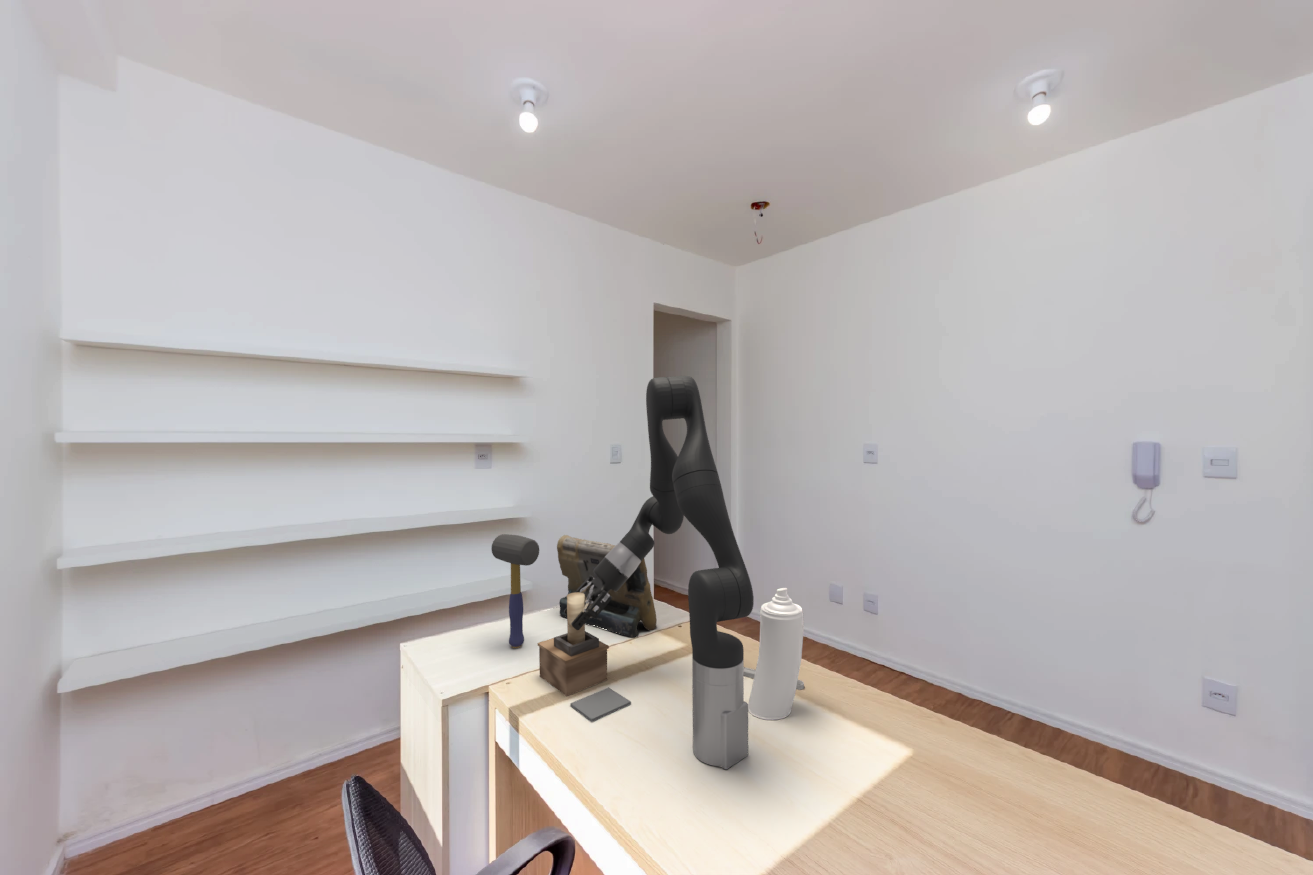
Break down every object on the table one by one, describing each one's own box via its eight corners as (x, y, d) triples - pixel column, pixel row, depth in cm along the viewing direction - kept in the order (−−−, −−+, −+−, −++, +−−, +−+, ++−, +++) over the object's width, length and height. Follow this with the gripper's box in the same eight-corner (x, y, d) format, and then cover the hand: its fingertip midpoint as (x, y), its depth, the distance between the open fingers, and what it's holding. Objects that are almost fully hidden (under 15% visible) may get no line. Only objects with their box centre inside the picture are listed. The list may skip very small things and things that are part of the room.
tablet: (664, 624, 156) (663, 540, 155) (638, 640, 144) (637, 550, 143) (578, 604, 173) (578, 529, 172) (549, 618, 161) (548, 537, 160)
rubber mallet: (490, 645, 141) (488, 535, 140) (512, 636, 147) (511, 530, 146) (520, 657, 134) (519, 541, 133) (543, 647, 140) (541, 535, 139)
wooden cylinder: (588, 646, 121) (587, 595, 121) (573, 651, 119) (573, 599, 118) (579, 641, 124) (578, 591, 124) (564, 646, 122) (563, 594, 121)
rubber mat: (631, 704, 111) (631, 701, 111) (591, 722, 105) (591, 719, 105) (608, 689, 117) (608, 687, 117) (570, 705, 111) (570, 703, 111)
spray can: (760, 688, 118) (760, 577, 117) (808, 700, 112) (808, 584, 112) (741, 712, 108) (741, 592, 107) (792, 727, 102) (792, 601, 102)
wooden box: (609, 679, 122) (608, 637, 122) (566, 697, 114) (565, 651, 114) (579, 661, 131) (579, 622, 131) (537, 676, 124) (537, 634, 124)
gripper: (598, 549, 130) (553, 601, 127) (615, 563, 117) (564, 622, 113) (619, 568, 132) (575, 619, 129) (638, 584, 119) (589, 642, 115)
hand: (570, 620), depth 121 cm, fingers open, 8 cm apart
